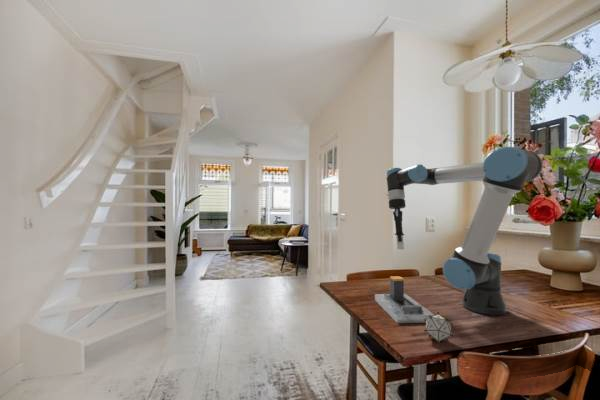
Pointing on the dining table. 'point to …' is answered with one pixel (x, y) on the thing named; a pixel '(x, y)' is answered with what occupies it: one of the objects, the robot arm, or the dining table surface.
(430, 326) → the game die
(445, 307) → the dining table surface
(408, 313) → the fader console
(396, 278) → the fader knob
